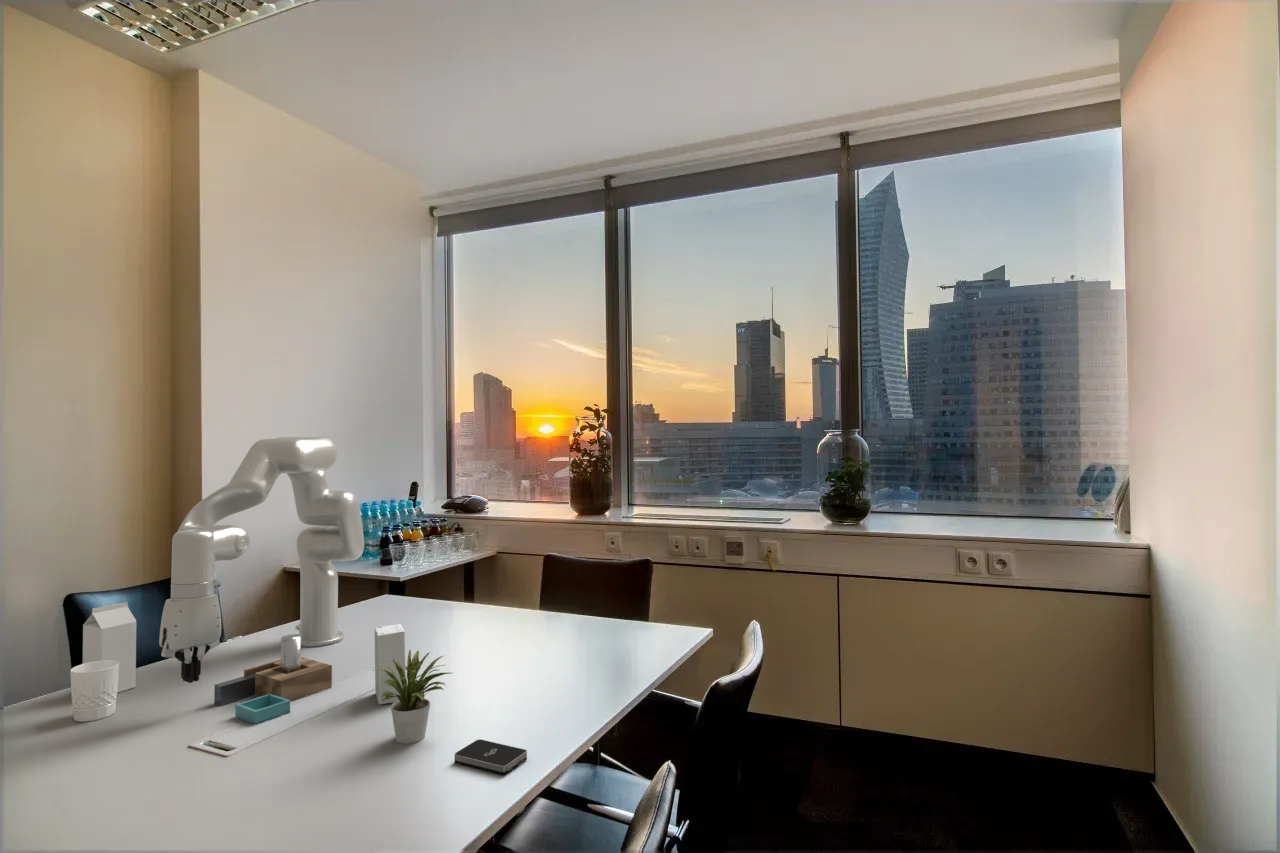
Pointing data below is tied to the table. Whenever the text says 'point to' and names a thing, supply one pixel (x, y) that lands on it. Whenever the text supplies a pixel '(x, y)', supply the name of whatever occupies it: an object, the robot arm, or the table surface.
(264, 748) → the table surface
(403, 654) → the skincare box
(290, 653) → the peg
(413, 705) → the house plant
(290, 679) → the socket block
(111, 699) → the white cup
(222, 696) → the bar
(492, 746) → the external hard drive
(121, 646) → the milk carton
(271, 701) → the tray
